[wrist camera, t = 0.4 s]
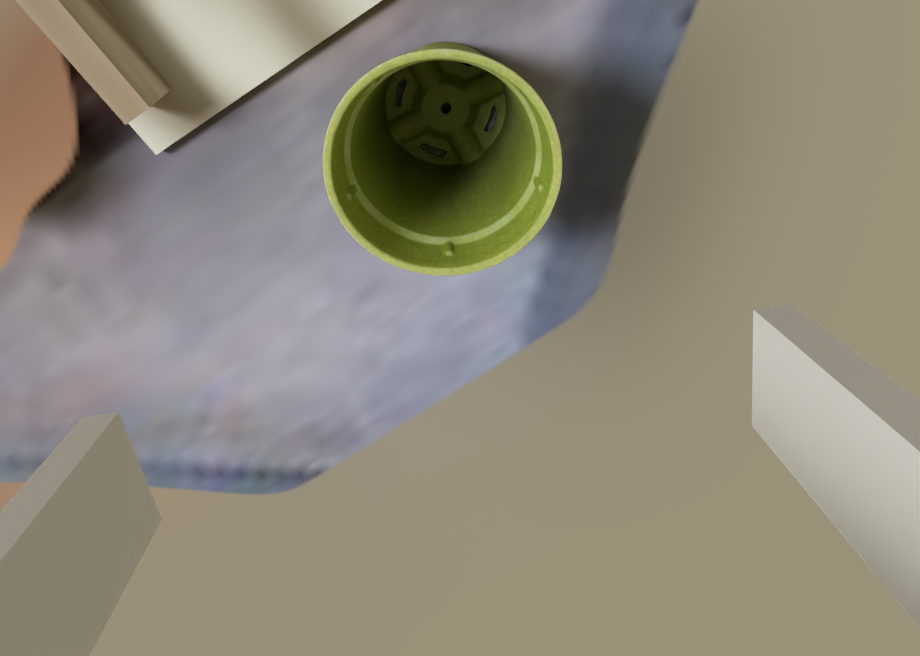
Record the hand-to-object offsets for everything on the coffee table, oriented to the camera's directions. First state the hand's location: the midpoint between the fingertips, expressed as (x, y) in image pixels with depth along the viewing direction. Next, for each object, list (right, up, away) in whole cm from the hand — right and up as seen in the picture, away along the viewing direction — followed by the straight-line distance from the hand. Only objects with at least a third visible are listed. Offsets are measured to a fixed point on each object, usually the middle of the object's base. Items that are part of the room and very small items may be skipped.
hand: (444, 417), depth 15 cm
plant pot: (0, +13, +20) cm, 24 cm away
